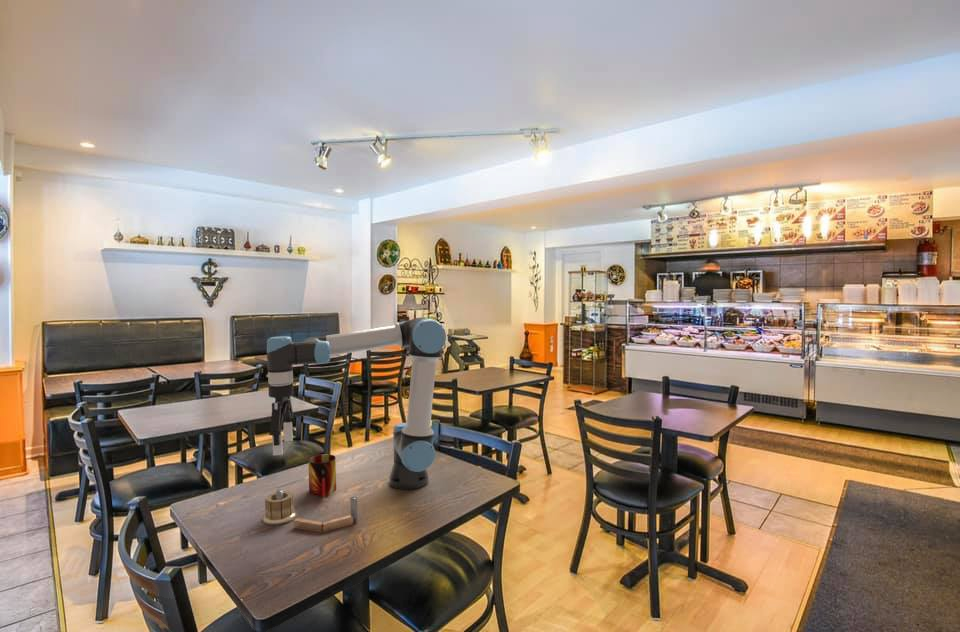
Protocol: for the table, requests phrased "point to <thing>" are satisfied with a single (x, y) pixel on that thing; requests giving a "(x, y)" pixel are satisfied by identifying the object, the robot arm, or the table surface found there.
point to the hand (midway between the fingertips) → (283, 447)
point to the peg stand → (278, 522)
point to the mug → (322, 475)
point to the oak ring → (279, 506)
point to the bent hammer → (329, 524)
